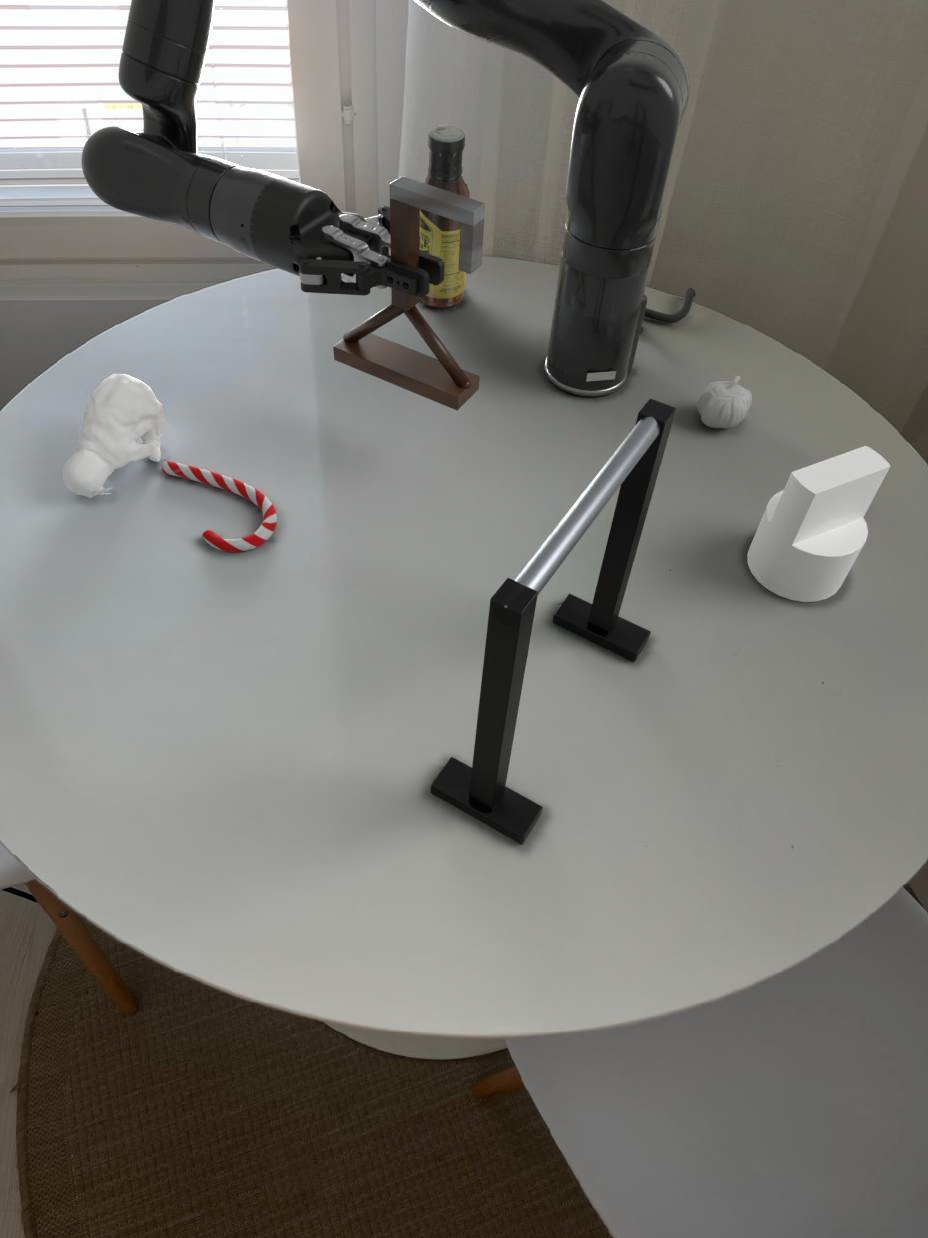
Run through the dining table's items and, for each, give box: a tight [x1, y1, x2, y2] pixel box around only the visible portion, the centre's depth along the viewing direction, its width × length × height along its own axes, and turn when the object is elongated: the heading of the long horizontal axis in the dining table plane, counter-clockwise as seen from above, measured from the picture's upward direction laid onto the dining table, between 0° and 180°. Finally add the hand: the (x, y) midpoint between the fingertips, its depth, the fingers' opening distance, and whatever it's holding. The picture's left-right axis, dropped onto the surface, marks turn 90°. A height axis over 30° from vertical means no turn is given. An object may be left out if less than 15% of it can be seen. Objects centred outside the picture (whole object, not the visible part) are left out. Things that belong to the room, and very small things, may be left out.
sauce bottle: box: [419, 124, 471, 309], centre depth 105 cm, size 6×6×20 cm
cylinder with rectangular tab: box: [746, 445, 891, 603], centre depth 81 cm, size 9×9×12 cm
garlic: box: [696, 375, 753, 429], centre depth 98 cm, size 6×5×5 cm
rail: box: [430, 398, 677, 846], centre depth 65 cm, size 23×8×24 cm, turn 149°
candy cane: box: [161, 460, 278, 553], centre depth 87 cm, size 8×1×15 cm
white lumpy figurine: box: [62, 373, 165, 499], centre depth 87 cm, size 6×8×12 cm
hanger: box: [332, 175, 486, 411], centre depth 80 cm, size 14×4×18 cm, turn 59°
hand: (434, 278), depth 78 cm, fingers closed on hanger, 2 cm apart
